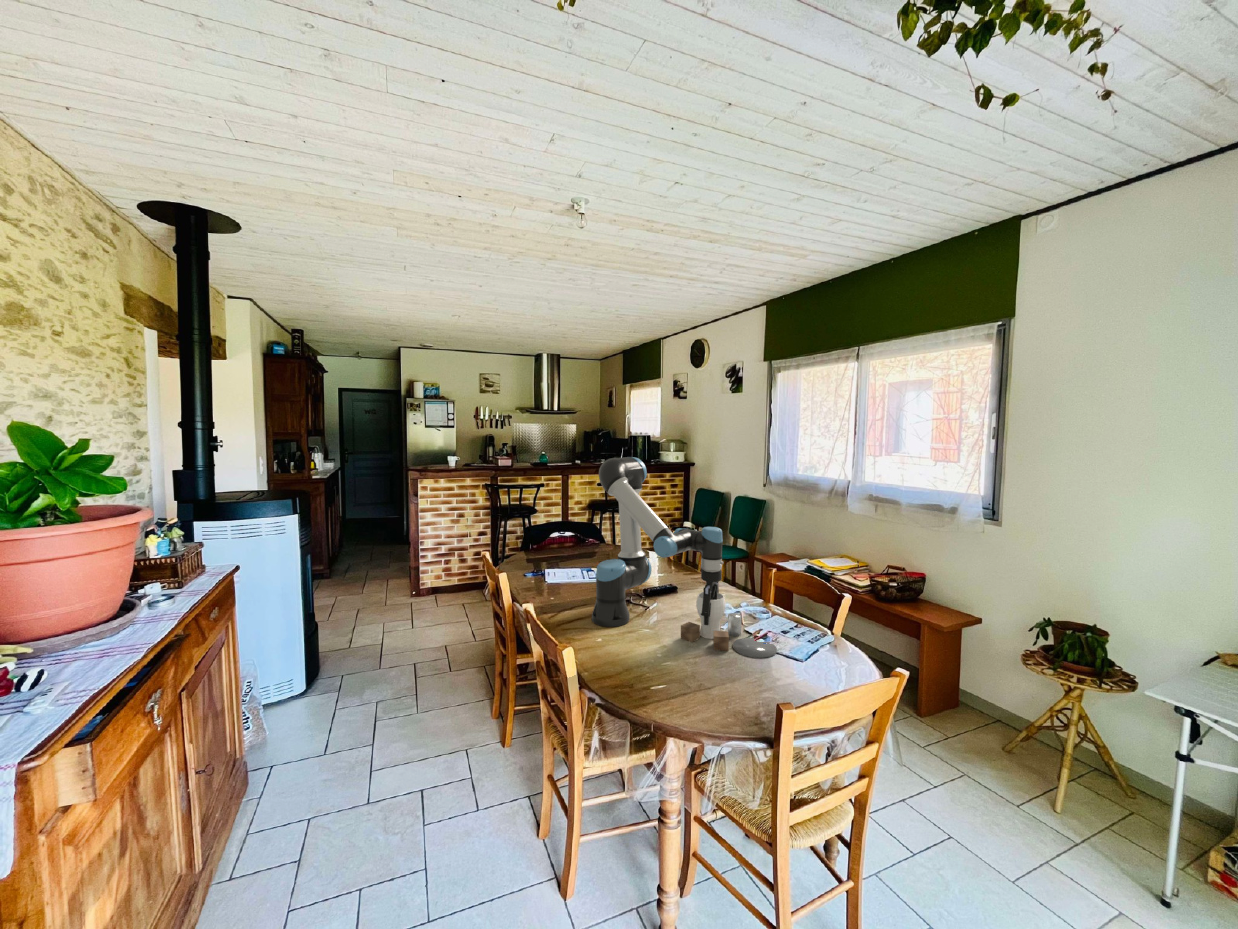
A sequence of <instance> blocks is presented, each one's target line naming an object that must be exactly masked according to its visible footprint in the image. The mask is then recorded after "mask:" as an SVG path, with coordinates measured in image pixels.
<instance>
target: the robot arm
mask: <svg viewBox="0 0 1238 929" xmlns="http://www.w3.org/2000/svg"><path fill="white" fill-rule="evenodd" d="M647 473H648V472H647V467H646V465H645V463H644V462H643V461H642V460H641V459H640V458H638V457H633V456H627V457H612V458H607V459H606V460H605V461H604V462H602V464H601V465H600V467H599V471H598V478H599V482H600V484H601V486H602V488H603V490H604V491H605V492H606V493H607V494H608V496H611V497H614V498H615V500H616V501H617V502H618V514H619V532H620V534H619V536H620V552H619V553H618V554H617V558H610V559H606V560H603V561H600V563H598V564H597V566H596V572H595V582H596V583H595V588H596V589H595V592H596V593H595V594H596V595H595V598H596V600H595V604H594V607H593V610H592V613H591V622H592V623H593V624H595V625H597V626H601V627H607V628H611V627H612V628H614V627H621V626H623V625H627V624H628V623H629V622H630V617H631V616H630V612H629V608H628V606H627V605H628V604H627V603H626V591H627V590H629V589H632V588H636V587H639V586H641V585H644V583H646V582H647V581H648V580H649V579H650V577H651V576H652V572H653V571H652V564H651V562H650V561H649V559H648V558H647V557H646V552H645V551H643V549H642V533H641V531H643V532H644V533H645V535H647V536H648V537H649V539H650V540H651V541H652V542H653V549H654V553H655V554H656V555H657V556H658V557H660V558H664V559H665V558H669V557H670V558H671V557H673V556H675V555H678V554H681V553H685V552H687V551H695V552H699V553H701V558H700V559H701V561H700V562H701V564H700V568H701V570H700V578H701V580H702V581H703V582H705V585H704V587H703V589H702V590H703V591H702V592H703V604H702V613H701V615H702V616H703V633H708V634H710V633H711V616H710V612H711V603H710V600H717V593H720V590H719V582H721V581H722V579H723V578H722V576H723V575H722V574H723V572H722V571H723V570H722V569H723V568H722V566H723V564H724V561H722V560H723V541H724V539H723V530H722V529H721V528H719V527H716V526H704V527H703V528H702V529H701V531H700V530H694V529H689V528H685V527H684V528H680V527H679V528H676V529H675V531H673V532H672V530H671V529H670V528H669V527H668V526H667V525H666V524H665V523H664V521H662V519H661V518H660V517H659V516H658V515H657V514H656V513H655V511H654V510H653V509H652V508H651V507H650V506H649V505H648V504H647V503H646V501H645V500H644V499H643V498H642V497H641V496H640V492H641V491H642V490H643V483H644V482H645V480H646V478H647V476H648V475H647ZM641 529H642V530H641ZM705 612H706V613H705Z"/></svg>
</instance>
